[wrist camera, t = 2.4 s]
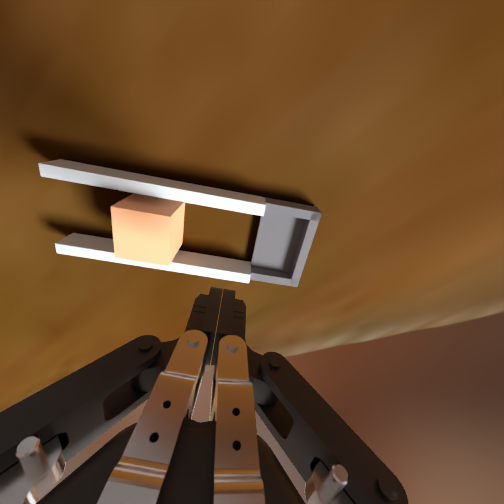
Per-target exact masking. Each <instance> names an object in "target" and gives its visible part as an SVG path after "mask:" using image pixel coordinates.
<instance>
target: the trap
mask: <svg viewBox="0 0 504 504" xmlns="http://www.w3.org/2000/svg"><path fill="white" fill-rule="evenodd" d="M265 202H266V207H265V212H264V216H261V217H260V222H259V227H258V231H257V236H256V241H255V246H254V250H253V255H252V260H251V276H250V280H256V281H263V282H269V283H275V284H281V285H288V286H294V287H297V286H298V283H299V280H300V277H301V274H302V271H303V268H304V265H305V262H306V259H307V256H308V253H309V250H310V247H311V244H312V241H313V238H314V235H315V232H316V229H317V226H318V223H319V220H320V217H321V214H322V213H321V212H320V210H319V209H318V208H317V207H314V206H309V205H304V204H298V203H293V202H288V201H282V200H277V199H272V198H266V197H265Z"/></svg>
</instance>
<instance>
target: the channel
mask: <svg viewBox="0 0 504 504" xmlns="http://www.w3.org/2000/svg"><path fill="white" fill-rule="evenodd" d="M38 164H39V169H40V174H41V176H42V177H48V178H53V179H59V180H64V181H70V182H76V183H81V184H87V185H92V186H98V187H103V188H109V189H114V190H120V191H125V192H131V193H136V194H142V195H148V196H153V197H159V198H164V199H170V200H175V201H181V202H186V203H192V204H197V205H203V206H209V207H214V208H220V209H225V210H231V211H236V212H242V213H247V214H253V215H258V216H264V212H265V207H266V202H265V197H261V196H255V195H250V194H245V193H239V192H234V191H229V190H223V189H218V188H213V187H207V186H202V185H197V184H191V183H186V182H181V181H175V180H170V179H165V178H159V177H154V176H148V175H143V174H138V173H132V172H127V171H122V170H116V169H111V168H106V167H100V166H95V165H90V164H84V163H79V162H74V161H68V160H63V159H59V160H53V161H48V162H42V163H38ZM55 246H56V251H57V253H60V254H66V255H72V256H79V257H85V258H91V259H98V260H104V261H110V262H117V263H123V264H129V265H136V266H142V267H148V268H155V269H161V270H167V271H174V272H180V273H186V274H193V275H199V276H205V277H212V278H218V279H225V280H231V281H237V282H244V283H249V281H250V276H251V262H248V261H242V260H236V259H230V258H224V257H218V256H212V255H206V254H200V253H194V252H188V251H182V250H178V252H177V253H176V255H175V257H174V258H173V260H172V262H171V263H170V265H169V266H165V265H158V264H152V263H146V262H140V261H133V260H127V259H121V258H115V253H114V241H113V239H109V238H103V237H97V236H91V235H84V234H78V233H72V234H70V235H68V236H67V237H65V238H63V239H62V240H60V241H58V242H57V243H55Z"/></svg>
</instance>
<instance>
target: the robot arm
mask: <svg viewBox="0 0 504 504" xmlns="http://www.w3.org/2000/svg"><path fill="white" fill-rule="evenodd" d="M222 290H223V289H221V288H214V287H211V289H210V293H209V295H204V294H200V295H199V296H198V297H197V298H196V299H195V302H194V305H193V308H192V312H191V314H190V317H189V321H188V324H187V327H186V330H185V332H184V333H183V334H182V335H181V336H180V337H179V338H178V339H176V340H173V341H168V342H161V341H160V340H159V339H158V338H157V337H155V336H152V335H144V336H140V337H138V338H136V339H134V340H132V341H130V342H128V343H127V344H125V345H123V346H121V347H119V348H117V349H116V350H114V351H112V352H110V353H108V354H106V355H105V356H103V357H101V358H99V359H97V360H95V361H94V362H92V363H90V364H88V365H86V366H84V367H83V368H81V369H79V370H77V371H75V372H73V373H72V374H70V375H68V376H66V377H64V378H62V379H61V380H59V381H57V382H55V383H53V384H51V385H50V386H48V387H46V388H44V389H42V390H40V391H39V392H37V393H35V394H33V395H31V396H29V397H28V398H26V399H24V400H22V401H20V402H18V403H17V404H15V405H13V406H11V407H9V408H7V409H6V410H4V411H2V412H0V504H305V502H304V501H303V499H302V497H301V496H300V494H299V493H298V491H297V490H296V488H295V486H294V485H293V483H292V482H291V480H290V478H289V477H288V475H287V474H286V472H285V470H284V469H283V467H282V466H281V464H280V462H279V461H278V459H277V458H276V456H275V454H274V453H273V451H272V450H271V448H270V447H269V446H268V444H267V443H266V442H265V441H264V440H263V439H262V438H261V437H260V436H259V435H257V430H256V419H255V410H256V412H257V413H258V415H259V416H260V418H261V419H262V420H263V422H264V423H265V425H266V426H267V428H268V429H269V430H270V432H271V433H272V435H273V436H274V438H275V439H276V440H277V442H278V443H279V445H280V446H281V448H282V449H283V450H284V452H285V453H286V455H287V456H288V457H289V459H290V460H291V462H292V463H293V465H294V466H295V467H296V469H297V470H298V472H299V473H300V474H301V476H302V477H303V479H304V480H305V482H306V485H305V497H306V501H307V504H408V499H407V495H406V492H405V490H404V488H403V486H402V484H401V483H400V481H399V480H398V478H397V477H396V476H395V475H394V474H393V473H392V472H391V471H390V470H389V469H388V467H387V466H386V465H385V464H384V463H383V462H382V461H381V460H380V459H379V458H378V457H377V456H376V455H375V454H374V452H373V451H372V450H371V449H370V448H369V447H368V446H367V445H366V444H365V443H364V442H363V441H362V440H361V439H360V438H359V436H358V435H357V434H356V433H355V432H354V431H353V430H352V429H351V428H350V427H349V426H348V425H347V424H346V423H345V422H344V420H343V419H341V417H340V416H339V415H338V414H337V413H336V412H335V411H334V410H333V409H332V408H331V407H330V406H329V404H327V402H326V401H325V400H324V399H323V398H322V397H321V396H320V395H319V394H318V393H317V392H316V391H315V390H314V389H313V387H312V386H311V385H309V383H308V382H307V381H306V380H305V379H304V378H303V377H302V376H301V375H300V374H299V372H298V371H297V370H296V369H295V368H294V367H293V366H292V365H291V364H290V363H289V362H288V361H287V360H286V359H285V358H284V357H283V356H282V355H281V354H279V353H276V352H267V353H265V354H264V355H260V354H258V353H256V352H254V351H252V350H251V349H250V348H249V347H248V346H247V344H246V341H245V322H246V306H245V304H244V302H243V300H238V299H235V291H234V290H228V289H224V291H223V297H222V302H221V296H222ZM220 302H221V308H220ZM219 308H220V314H219ZM218 314H219V320H218ZM217 320H218V326H217ZM216 326H217V332H216V338H215V344H214V350H213V356H212V362H211V365H215V368H214V374H213V380H212V393H211V408H210V420H209V421H208V422H202V423H199V422H196V421H194V420H191V418H192V414H193V410H194V406H195V402H196V398H197V395H198V392H199V388H200V385H201V381H202V376H203V375H204V372H205V367H206V365H210V360H211V355H212V349H213V343H214V337H215V331H216ZM147 399H148V400H147ZM146 400H147V403H146V405H145V407H144V409H143V411H142V414H141V416H140V418H139V420H138V422H137V423H135V424H133V425H131V426H129V427H127V428H125V429H124V430H122V431H121V432H119V433H118V434H117V435H116V436H115V437H113V438H112V439H111V440H110V441H109V442H107V443H106V444H105V445H104V446H103V447H102V448H100V449H99V450H98V451H97V452H96V453H95V454H93V455H92V456H91V457H90V458H89V459H88V460H86V461H85V462H84V463H83V464H82V465H80V467H78V468H77V469H76V470H75V471H73V472H72V473H71V474H70V475H69V476H68V477H66V478H65V479H64V480H63V481H62V482H61V483H59V484H58V485H57V486H56V487H55V488H53V487H54V486H55V485H56V484H57V482H58V481H59V479H60V478H61V476H62V474H63V472H64V468H65V463H66V462H67V461H68V460H69V459H71V458H72V457H73V456H75V455H76V454H77V453H78V452H80V451H81V450H82V449H84V448H85V447H86V446H88V445H89V444H90V443H91V442H92V441H94V440H95V439H97V438H98V437H99V436H100V435H102V434H103V433H104V432H106V431H107V430H108V429H109V428H111V427H112V426H113V425H115V424H116V423H117V422H118V421H120V420H121V419H122V418H124V417H125V416H126V415H128V414H129V413H130V412H132V411H133V410H134V409H136V408H137V407H138V406H139V405H140V404H142V403H143V402H144V401H146ZM52 488H53V489H52ZM51 489H52V490H51ZM50 490H51V491H50ZM49 491H50V492H49ZM48 492H49V493H48ZM47 493H48V494H47Z"/></svg>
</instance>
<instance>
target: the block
mask: <svg viewBox="0 0 504 504" xmlns="http://www.w3.org/2000/svg"><path fill="white" fill-rule="evenodd" d="M184 210H185V202H181V201H175V200H170V199H164V198H159V197H153V196H148V195H142V194H136V193H133V194H132V195H130V196H128V197H126V198H125V199H123V200H121V201H119V202H117V203H116V204H114V205H112V206H111V217H112V229H113V241H114V253H115V258H121V259H127V260H133V261H140V262H146V263H152V264H158V265H165V266H169V265H170V263H171V262H172V260H173V258H174V257H175V255H176V253H177V252H178V250H179V248H180V247H181V245H182V243H183V227H184Z"/></svg>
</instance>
